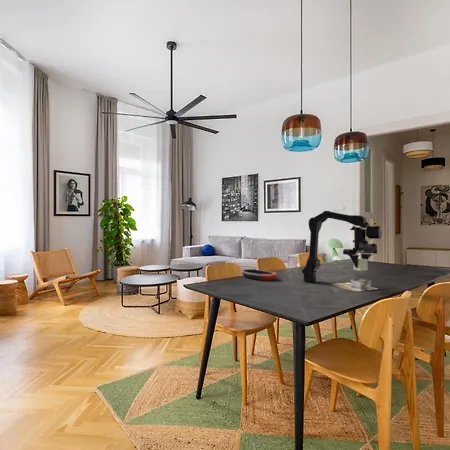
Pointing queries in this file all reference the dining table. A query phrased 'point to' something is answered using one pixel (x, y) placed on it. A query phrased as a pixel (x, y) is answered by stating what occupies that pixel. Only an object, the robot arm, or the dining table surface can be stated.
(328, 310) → the dining table surface
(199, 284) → the dining table surface
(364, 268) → the sage block
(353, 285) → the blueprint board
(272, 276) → the dish
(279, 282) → the dining table surface
